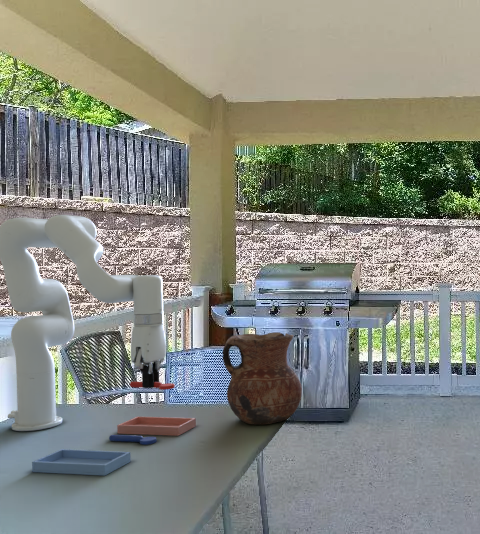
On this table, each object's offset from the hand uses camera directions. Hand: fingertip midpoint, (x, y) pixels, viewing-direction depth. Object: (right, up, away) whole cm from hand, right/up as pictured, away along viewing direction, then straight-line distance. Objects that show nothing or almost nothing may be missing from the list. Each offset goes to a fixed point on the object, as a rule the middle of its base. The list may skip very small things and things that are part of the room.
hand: (150, 386), depth 166 cm
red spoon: (0, 0, 0) cm, 0 cm away
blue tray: (-4, -13, -28) cm, 31 cm away
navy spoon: (-1, -13, -9) cm, 15 cm away
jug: (+29, -12, +11) cm, 33 cm away
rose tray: (+1, -12, +2) cm, 13 cm away
